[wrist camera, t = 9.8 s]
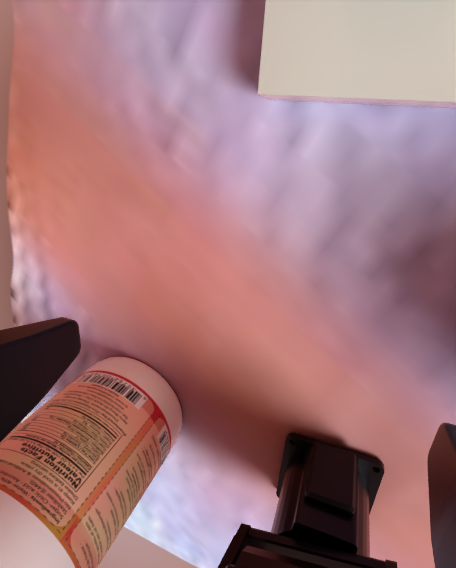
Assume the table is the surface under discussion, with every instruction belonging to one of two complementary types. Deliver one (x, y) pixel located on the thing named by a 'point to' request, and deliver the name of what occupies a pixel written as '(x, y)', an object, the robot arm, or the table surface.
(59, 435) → the fruit juice
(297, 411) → the table surface
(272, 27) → the plate
